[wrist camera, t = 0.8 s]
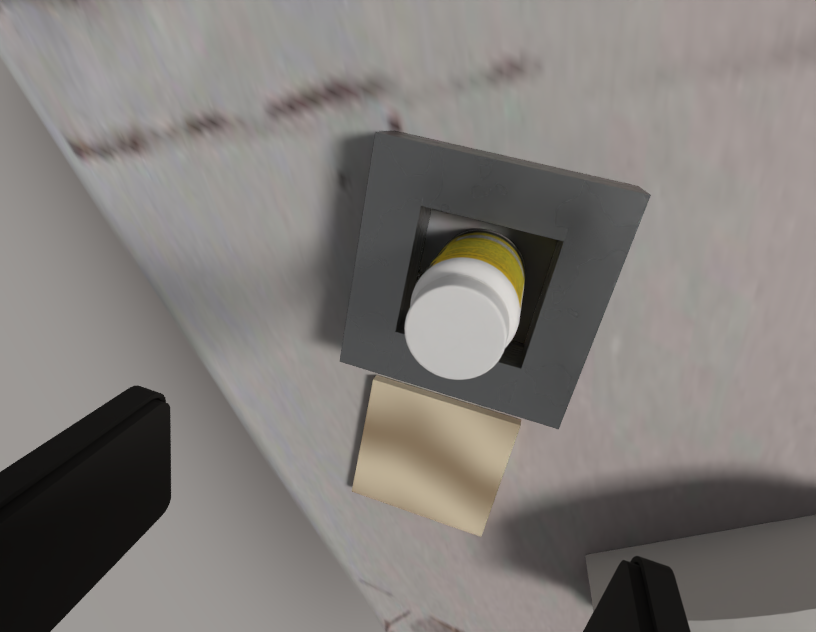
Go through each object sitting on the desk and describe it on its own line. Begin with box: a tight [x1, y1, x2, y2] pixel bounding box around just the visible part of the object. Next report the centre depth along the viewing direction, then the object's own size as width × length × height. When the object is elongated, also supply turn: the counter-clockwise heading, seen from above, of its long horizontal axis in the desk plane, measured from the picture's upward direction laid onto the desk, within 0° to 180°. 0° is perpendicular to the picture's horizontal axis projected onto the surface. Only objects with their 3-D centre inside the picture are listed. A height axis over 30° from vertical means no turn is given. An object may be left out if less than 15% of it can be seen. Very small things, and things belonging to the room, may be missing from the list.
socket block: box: [340, 131, 651, 429], centre depth 25 cm, size 12×12×3 cm
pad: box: [352, 375, 521, 537], centre depth 31 cm, size 9×9×1 cm
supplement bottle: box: [404, 229, 526, 380], centre depth 23 cm, size 5×5×8 cm
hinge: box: [585, 515, 816, 632], centre depth 25 cm, size 17×5×10 cm, turn 119°
